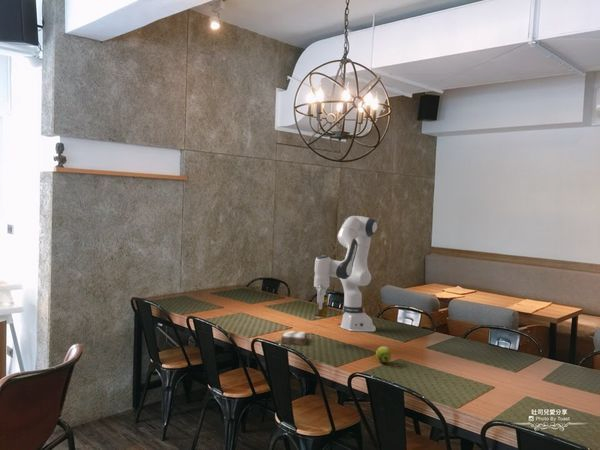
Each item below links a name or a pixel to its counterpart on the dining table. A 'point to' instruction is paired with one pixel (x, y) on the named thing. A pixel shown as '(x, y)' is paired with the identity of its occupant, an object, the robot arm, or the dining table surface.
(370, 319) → the robot arm
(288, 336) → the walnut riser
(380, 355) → the apple
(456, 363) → the dining table surface
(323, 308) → the condiment
